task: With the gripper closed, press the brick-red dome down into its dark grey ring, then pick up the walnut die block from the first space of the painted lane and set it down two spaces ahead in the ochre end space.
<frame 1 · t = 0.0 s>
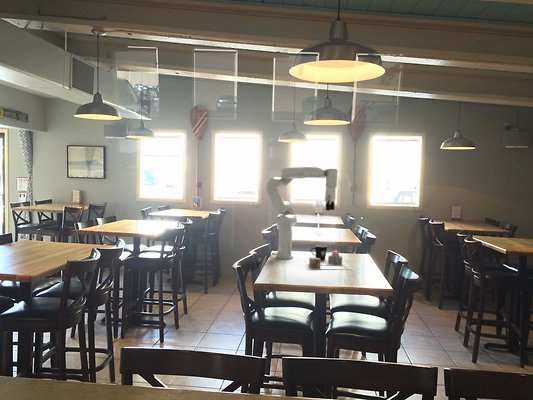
hand: (330, 210, 306), 37 cm above the table, tool pointing down, fingers open, 9 cm apart
lane: (327, 267, 292), on the table
dome: (335, 255, 307), point 6 cm above the table, slide at 0.0 cm
dome ring: (335, 263, 307), on the table
coffee mug: (318, 259, 320), on the table
die: (314, 267, 290), on the table
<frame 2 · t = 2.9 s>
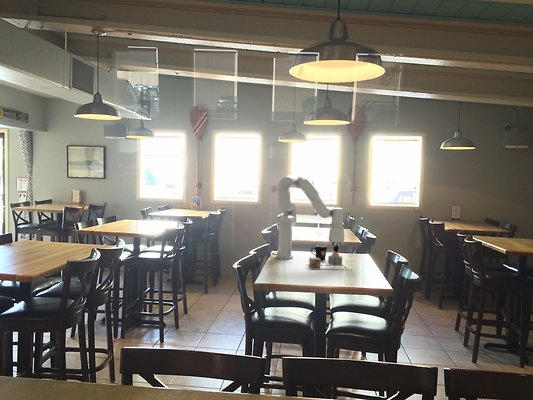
hand: (335, 251, 307), 8 cm above the table, tool pointing down, fingers closed
dome: (335, 255, 307), point 6 cm above the table, slide at 0.4 cm, touching gripper
everything else where it was.
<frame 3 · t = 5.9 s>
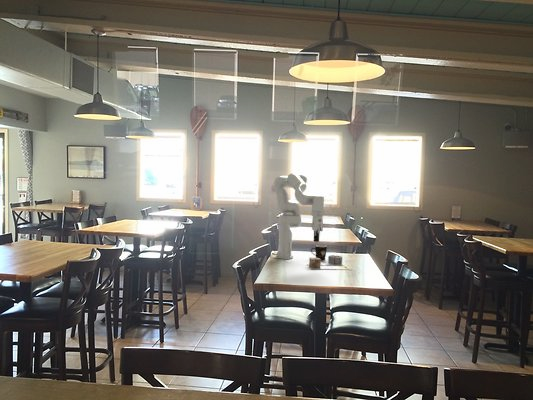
hand: (316, 241, 290), 17 cm above the table, tool pointing down, fingers closed
dome: (335, 258, 307), point 3 cm above the table, slide at 2.8 cm
everything else where it was.
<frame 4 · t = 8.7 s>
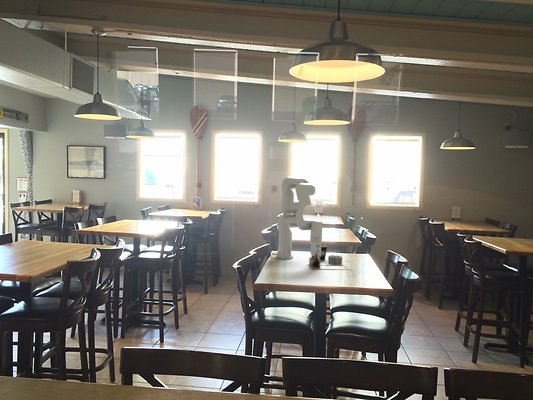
hand: (314, 265, 290), 1 cm above the table, tool pointing down, fingers closed on die, 6 cm apart
die: (314, 267, 290), on the table, touching gripper
everything else where it was.
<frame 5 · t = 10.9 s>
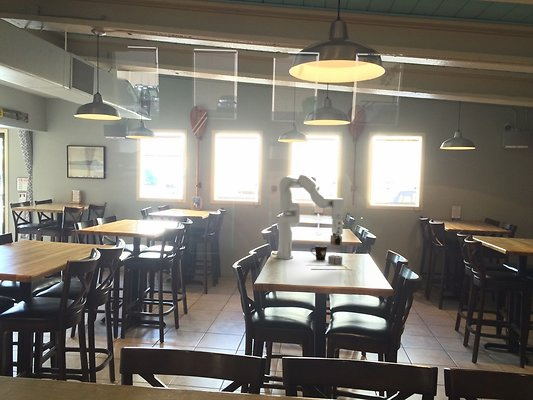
hand: (336, 243, 291), 16 cm above the table, tool pointing down, fingers closed on die, 6 cm apart
die: (336, 244, 292), point 15 cm above the table, touching gripper
everything else where it was.
when the fingers open (2 cm above the table, at t = 13.2 s): die drops 1 cm, on the table.
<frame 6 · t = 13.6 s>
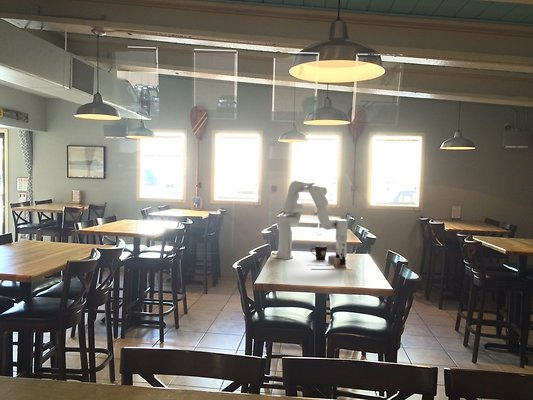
hand: (340, 263, 293), 3 cm above the table, tool pointing down, fingers open, 9 cm apart
die: (339, 267, 293), on the table
everything else where it was.
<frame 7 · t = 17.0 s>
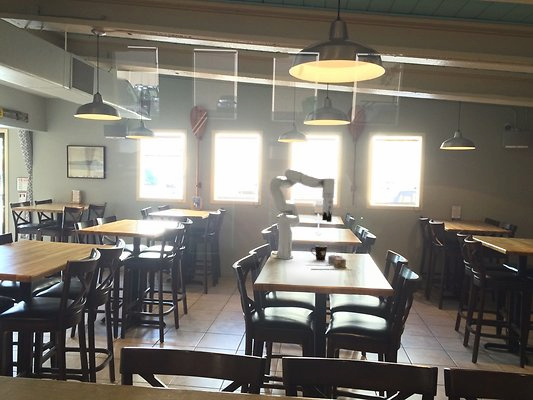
hand: (326, 221, 296), 30 cm above the table, tool pointing down, fingers open, 9 cm apart
nothing on the table moved.
at the end: dome slide at 2.8 cm; die inside the target area (0.2 cm from its centre), on the table; die tilted 0° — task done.
